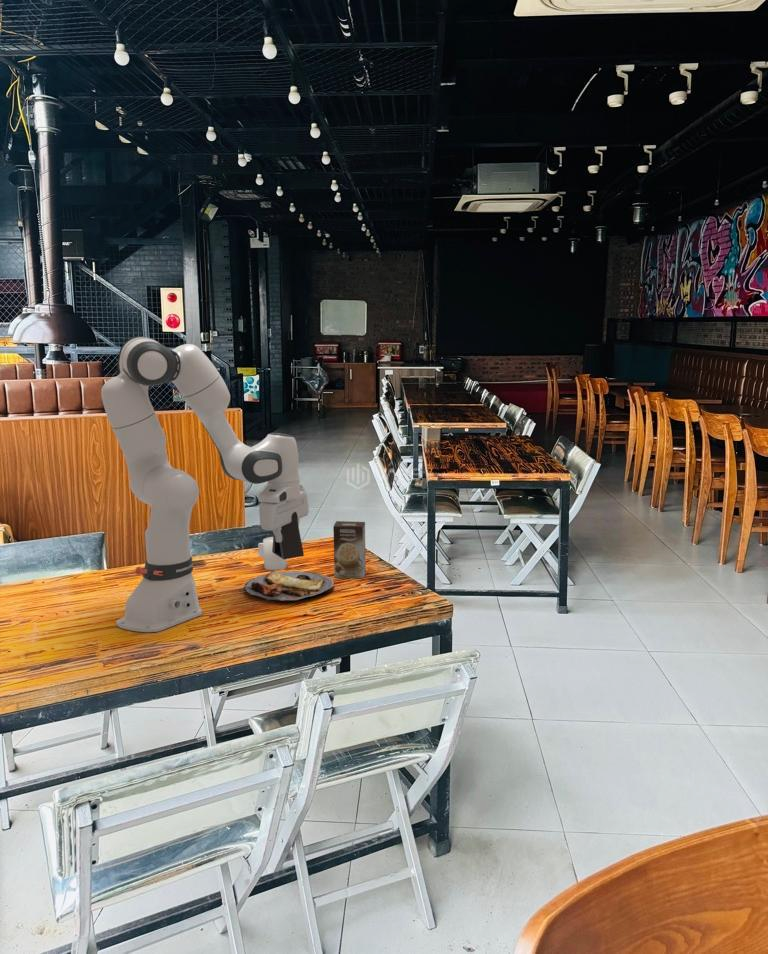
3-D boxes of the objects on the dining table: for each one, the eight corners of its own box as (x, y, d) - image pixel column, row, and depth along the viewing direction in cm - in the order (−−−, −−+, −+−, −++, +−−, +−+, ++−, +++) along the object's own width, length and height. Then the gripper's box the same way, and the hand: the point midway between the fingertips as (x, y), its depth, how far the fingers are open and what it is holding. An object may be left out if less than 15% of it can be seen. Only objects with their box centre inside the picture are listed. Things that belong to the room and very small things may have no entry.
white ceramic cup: (279, 571, 235) (277, 543, 233) (254, 568, 239) (252, 540, 237) (291, 565, 241) (289, 537, 240) (266, 562, 245) (265, 535, 243)
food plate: (228, 596, 212) (227, 584, 212) (276, 573, 233) (276, 562, 232) (303, 611, 201) (303, 598, 201) (347, 586, 222) (347, 575, 221)
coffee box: (333, 578, 227) (331, 526, 224) (337, 571, 233) (335, 520, 230) (364, 578, 226) (362, 526, 223) (366, 572, 232) (365, 521, 229)
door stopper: (303, 556, 213) (301, 514, 210) (283, 559, 210) (281, 517, 208) (291, 548, 220) (289, 508, 218) (272, 552, 218) (269, 511, 215)
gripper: (294, 482, 222) (296, 528, 225) (254, 496, 204) (257, 546, 207) (312, 484, 220) (315, 530, 222) (274, 498, 201) (276, 548, 204)
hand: (286, 538), depth 214 cm, fingers closed on door stopper, 6 cm apart
